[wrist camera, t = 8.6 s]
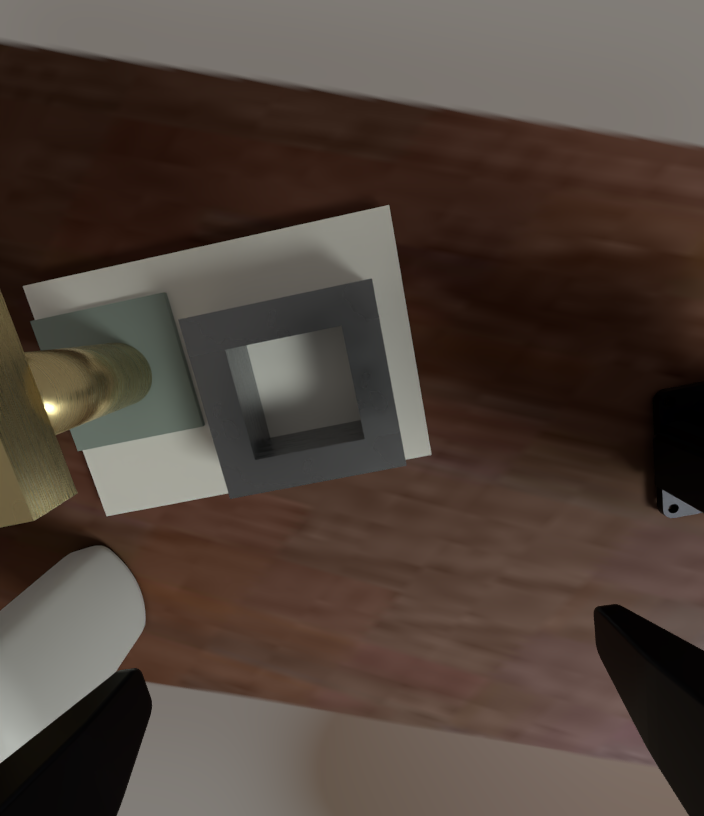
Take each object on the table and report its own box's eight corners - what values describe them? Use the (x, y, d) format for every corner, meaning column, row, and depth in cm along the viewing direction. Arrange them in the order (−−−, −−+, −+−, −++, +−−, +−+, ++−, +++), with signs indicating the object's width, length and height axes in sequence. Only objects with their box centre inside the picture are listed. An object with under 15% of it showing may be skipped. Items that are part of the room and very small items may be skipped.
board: (387, 211, 18) (389, 205, 17) (427, 448, 20) (431, 454, 19) (39, 287, 19) (22, 286, 18) (118, 506, 21) (106, 516, 20)
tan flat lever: (172, 436, 19) (47, 518, 11) (114, 448, 19) (-49, 536, 11) (127, 294, 17) (-49, 277, 10) (65, 308, 18) (-156, 302, 10)
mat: (166, 292, 18) (163, 292, 17) (205, 424, 19) (202, 426, 19) (35, 321, 18) (29, 321, 18) (82, 449, 19) (77, 451, 19)
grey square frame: (369, 284, 18) (372, 278, 15) (398, 442, 19) (406, 465, 16) (206, 318, 18) (177, 319, 15) (248, 471, 20) (230, 498, 17)
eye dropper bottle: (67, 626, 23) (-240, 958, 11) (71, 535, 21) (-270, 801, 10) (146, 639, 23) (-73, 980, 11) (154, 549, 22) (-82, 828, 10)
